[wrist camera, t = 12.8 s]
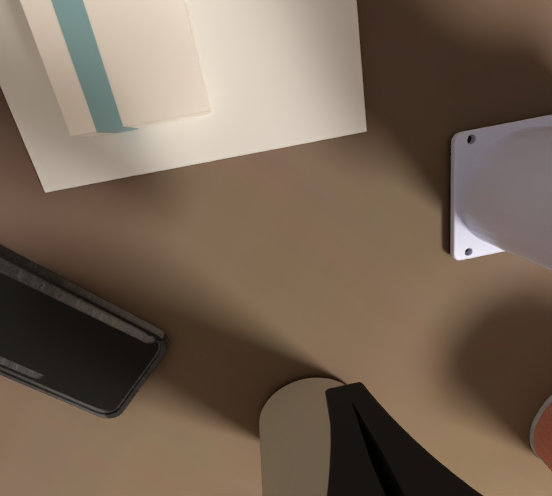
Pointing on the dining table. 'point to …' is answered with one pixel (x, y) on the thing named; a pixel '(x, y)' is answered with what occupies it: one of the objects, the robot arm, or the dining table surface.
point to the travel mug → (296, 439)
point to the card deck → (120, 62)
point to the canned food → (543, 433)
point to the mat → (221, 88)
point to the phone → (71, 340)
